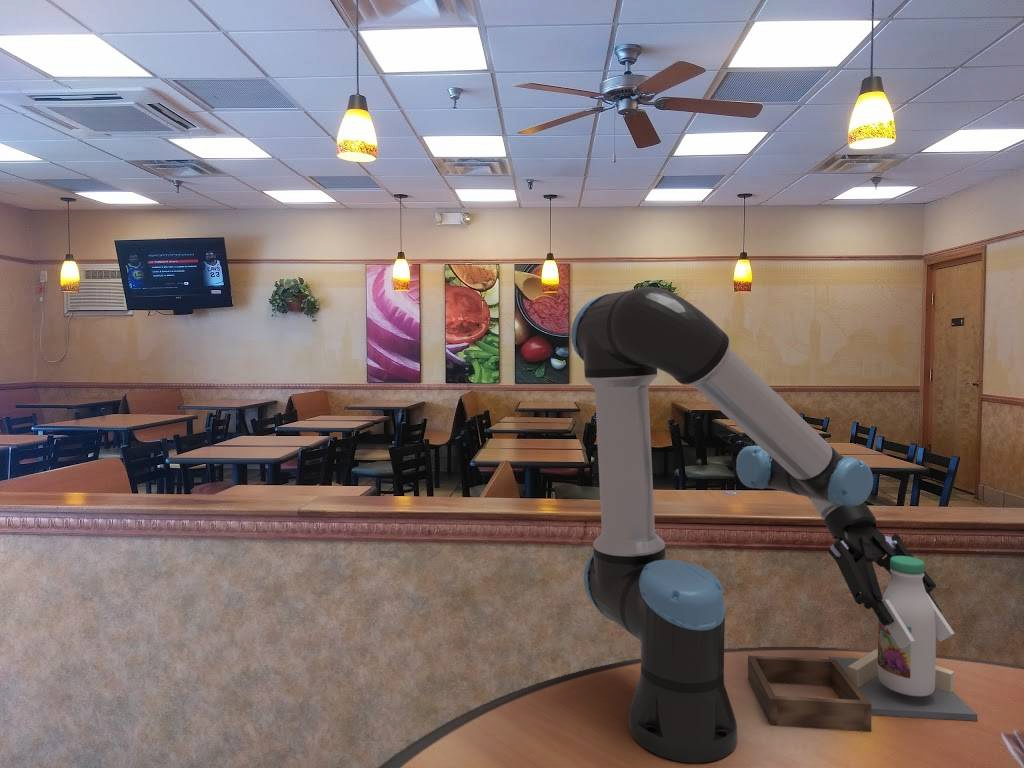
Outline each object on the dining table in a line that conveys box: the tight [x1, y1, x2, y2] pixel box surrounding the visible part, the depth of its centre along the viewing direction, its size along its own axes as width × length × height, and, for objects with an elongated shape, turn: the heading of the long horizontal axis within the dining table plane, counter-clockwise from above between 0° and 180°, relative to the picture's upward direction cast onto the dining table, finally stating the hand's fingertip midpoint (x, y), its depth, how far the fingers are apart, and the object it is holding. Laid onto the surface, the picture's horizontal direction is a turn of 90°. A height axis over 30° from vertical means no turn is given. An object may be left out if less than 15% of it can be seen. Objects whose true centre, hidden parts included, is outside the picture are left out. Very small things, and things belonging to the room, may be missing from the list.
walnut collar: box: [747, 655, 872, 732], centre depth 100 cm, size 14×14×4 cm
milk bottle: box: [877, 556, 937, 696], centre depth 100 cm, size 8×8×20 cm
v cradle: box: [828, 647, 978, 722], centre depth 104 cm, size 16×17×4 cm
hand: (927, 640), depth 97 cm, fingers closed on milk bottle, 7 cm apart
